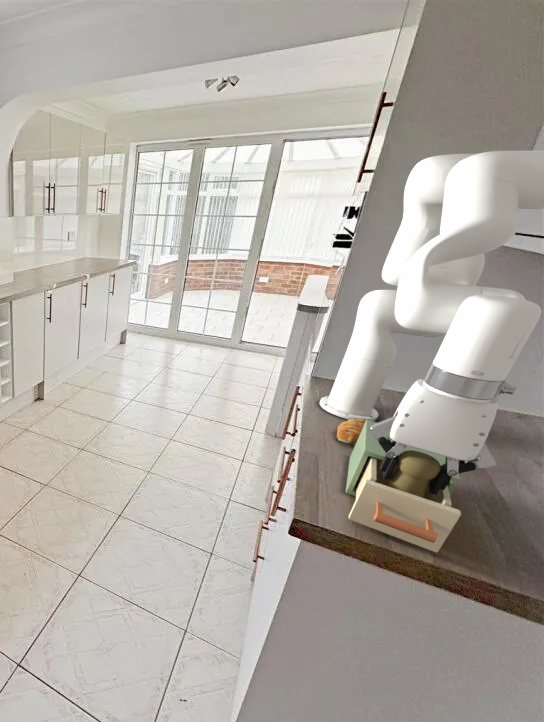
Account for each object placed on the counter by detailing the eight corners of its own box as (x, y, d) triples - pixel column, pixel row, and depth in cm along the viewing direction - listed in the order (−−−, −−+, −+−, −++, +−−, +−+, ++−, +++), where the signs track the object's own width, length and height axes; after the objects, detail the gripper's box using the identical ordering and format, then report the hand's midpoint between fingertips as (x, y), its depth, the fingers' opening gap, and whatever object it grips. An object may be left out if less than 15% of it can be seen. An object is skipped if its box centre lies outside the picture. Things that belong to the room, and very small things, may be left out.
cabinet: (433, 524, 70) (460, 479, 66) (345, 492, 77) (364, 450, 73) (426, 482, 81) (449, 441, 77) (349, 458, 88) (366, 419, 84)
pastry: (362, 452, 90) (368, 437, 88) (327, 439, 95) (333, 424, 93) (374, 438, 95) (381, 424, 94) (341, 426, 100) (346, 413, 98)
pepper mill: (371, 492, 73) (396, 440, 68) (415, 507, 70) (444, 453, 65) (372, 511, 69) (399, 457, 64) (419, 527, 66) (451, 472, 61)
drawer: (440, 573, 60) (466, 533, 56) (346, 535, 66) (364, 497, 63) (429, 506, 73) (449, 471, 70) (352, 480, 79) (367, 446, 76)
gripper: (540, 391, 57) (476, 493, 65) (386, 360, 67) (346, 453, 74) (556, 410, 52) (485, 519, 60) (386, 374, 61) (343, 472, 69)
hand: (408, 481), depth 67 cm, fingers closed on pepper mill, 5 cm apart
